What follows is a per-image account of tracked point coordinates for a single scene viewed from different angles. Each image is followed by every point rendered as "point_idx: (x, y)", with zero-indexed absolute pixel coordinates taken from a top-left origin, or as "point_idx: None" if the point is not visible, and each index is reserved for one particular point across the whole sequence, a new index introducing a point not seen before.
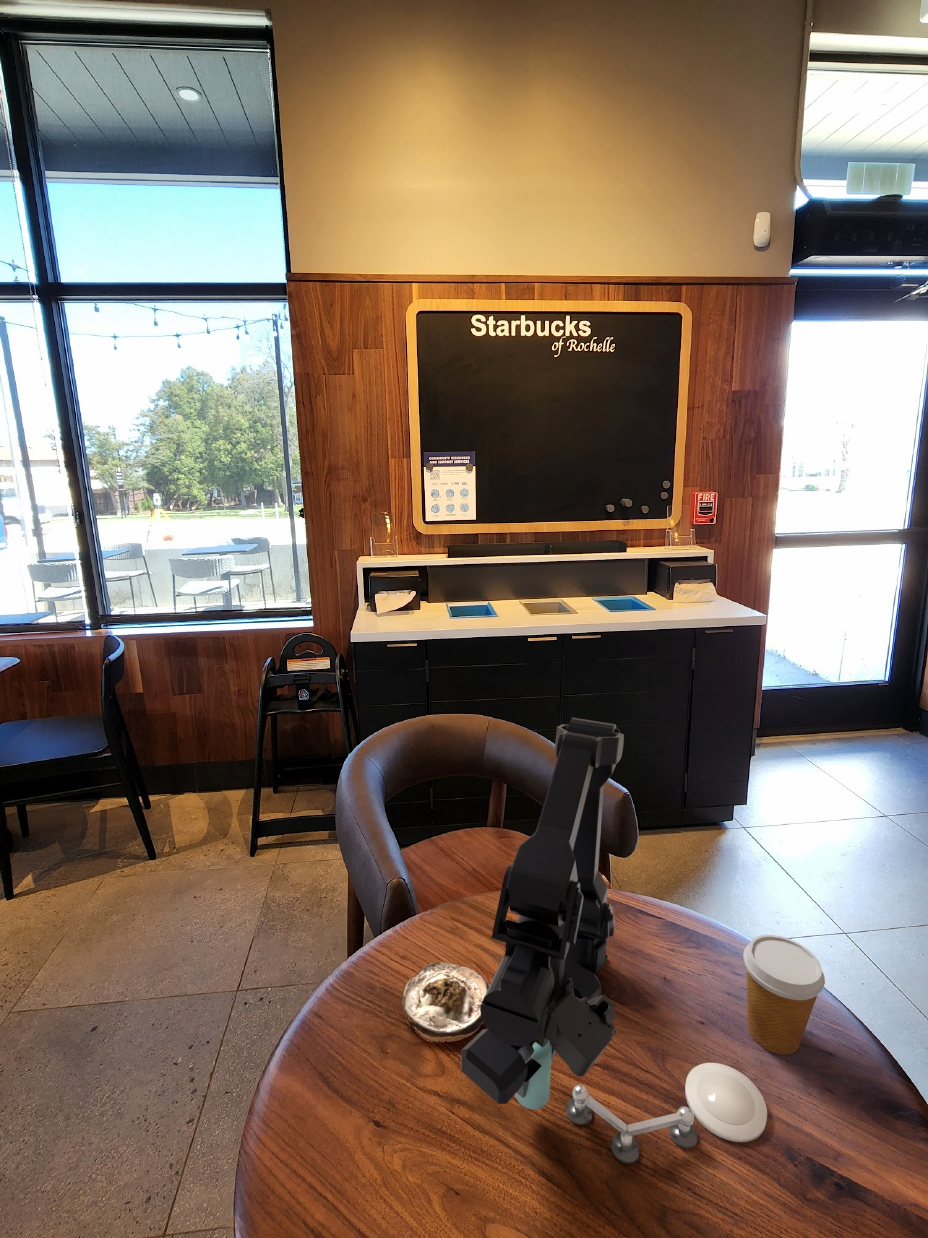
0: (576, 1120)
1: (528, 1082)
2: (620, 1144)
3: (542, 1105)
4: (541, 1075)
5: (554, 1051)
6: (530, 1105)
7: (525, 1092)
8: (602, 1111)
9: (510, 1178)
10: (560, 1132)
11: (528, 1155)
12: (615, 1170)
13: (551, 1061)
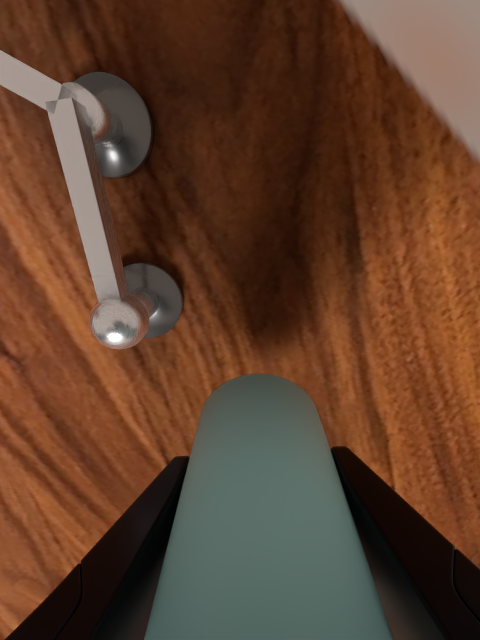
0: (173, 288)
1: (378, 521)
2: (115, 134)
3: (271, 379)
4: (306, 515)
5: (122, 549)
6: (311, 406)
7: (352, 467)
8: (96, 222)
9: (425, 307)
10: (230, 298)
11: (344, 315)
12: (183, 110)
13: (153, 487)
